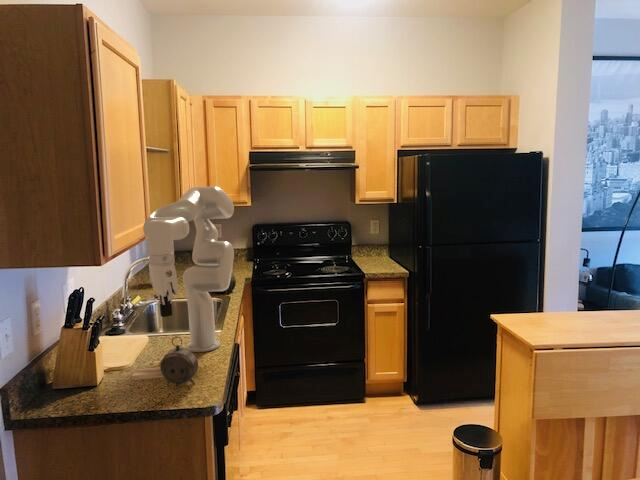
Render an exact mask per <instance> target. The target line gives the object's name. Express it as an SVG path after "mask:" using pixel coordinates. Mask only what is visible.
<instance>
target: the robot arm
mask: <svg viewBox="0 0 640 480" xmlns="http://www.w3.org/2000/svg"><path fill="white" fill-rule="evenodd" d="M177 200H178V201H174V202H172V203H170V204H167V205H164V206H161V207H160V208H157V209H155V210H153V211H152V212H151V213H150V214H149V215H148V216H147V218H146V219H145V220H144V223H143V227H142V229H143V230H142V231H143V234H144V236H145V237H146V239H147V246H148V247H147V248H148V257H149V261H148V263H149V262H150V265H151V266H152V284H153V286H152V290H153V292H154V293H155V294H156V295H157V297H158V302H159V311H160V312H159V313H160V317H162V318H166V317H171V316H172V315H173V308H172V303H173V301H174V295H178V294H179V286H178V277H177V271H176V266H175V263H176V258H175V246H174V241H179V240H184V239H185V238H186V237H187V236H188V235H189V233H190V224H189V223H190V222H192V221H193V223H194V226H195V228H196V229H195V230H196V232H195V240H194V242H193V249H192V255H191V256H192V257H191V258H192V261H193V264H196V265H194V266H191V267H187V268H186V269H185V271H183V274H182V280H183V286H184V290H185V293H186V294H185V295H186V300H187V313H188V315H187V316H188V326H189V327H188V328H189V340H190V341H189V342H187V344H186V347H185V348H186V349H188V350H190V351H191V352H192V353H204V352H211V351H213V350H216V349H217V348H219V347H220V345H221V341H220V340H219V339H218V338H216V325H215V324H216V323H215V308H214V300H213V297H212V296H211V295H210V293H209V292H213V291H223V292H224V291H225V290H227V289H228V287H229V285H230V280H231V273H233V267H234V266H233V265H234V260H235V249H234V246H233V245H232V243H231V242H229V241H226V240H225V241H224V240H218V239H219V238H218V237H219V231H218V229H217V227H216V226H215V225H214V223H212V221H210V220H215V219H217V220H218V219H219V220H220V219H221V220H222V219H230V218H231V217H232V216H233V215H234V213H235V206H234V202H233V200H232V199H231V197H230V196H229V195H228V194H227V193H226V192H225V191H224V190H223V189H222V188H220V187H218V186H215V185H214V186H195V187H191V188H189V189H188V190H187V191H186V192H185V193H184V194H182V196H181V197H180V198H179V199H177Z"/></svg>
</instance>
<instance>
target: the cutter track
mask: <svg viewBox="0 0 640 480" xmlns="http://www.w3.org/2000/svg"><path fill="white" fill-rule="evenodd" d="M131 378H132V379H131V380H132V381H137V380H146V379H147V380H148V379H158V378H165V377H164V376H163V374H162V372H161V368H160V366H159V367H148V368H138V369H134V371H133V373H132V375H131Z"/></svg>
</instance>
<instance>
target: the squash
mask: <svg viewBox="0 0 640 480" xmlns="http://www.w3.org/2000/svg"><path fill="white" fill-rule="evenodd" d="M236 285H237V279H236V276H235V274H234V273H233V272H232V273H231V280H230V285H229V287H228V289H227V290H225V291H212V293H214V292H219V293H222V292H223V293H225V292H229V293H230V292H232V291H234V289H235V287H236Z"/></svg>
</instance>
